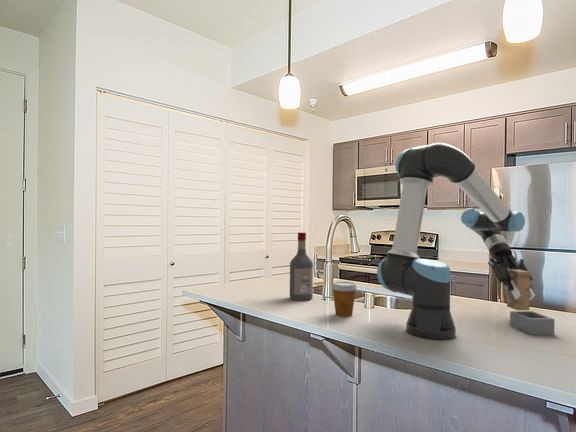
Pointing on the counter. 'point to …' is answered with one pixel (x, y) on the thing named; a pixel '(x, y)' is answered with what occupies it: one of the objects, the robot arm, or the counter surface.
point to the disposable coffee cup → (344, 298)
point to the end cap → (531, 322)
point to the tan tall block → (523, 287)
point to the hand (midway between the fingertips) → (525, 297)
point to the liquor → (301, 273)
